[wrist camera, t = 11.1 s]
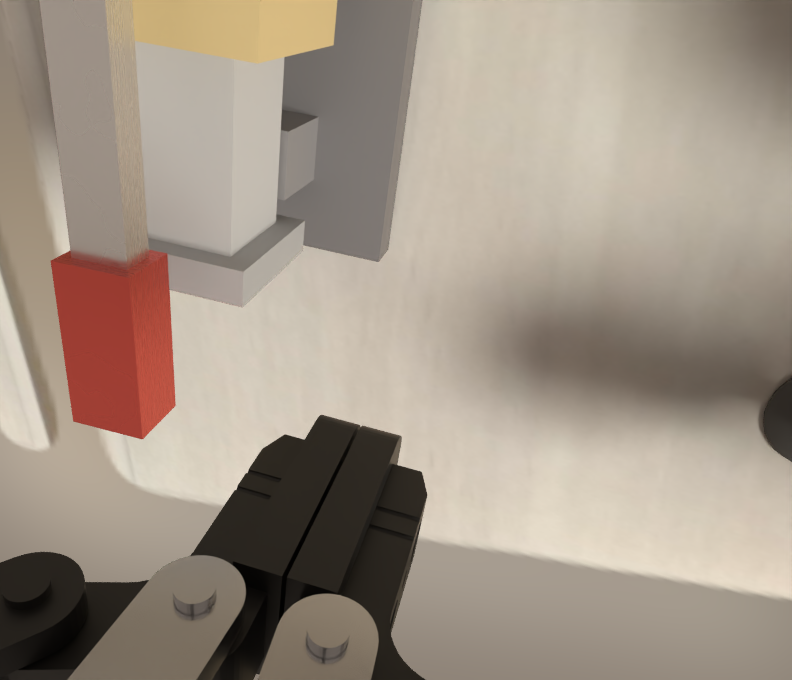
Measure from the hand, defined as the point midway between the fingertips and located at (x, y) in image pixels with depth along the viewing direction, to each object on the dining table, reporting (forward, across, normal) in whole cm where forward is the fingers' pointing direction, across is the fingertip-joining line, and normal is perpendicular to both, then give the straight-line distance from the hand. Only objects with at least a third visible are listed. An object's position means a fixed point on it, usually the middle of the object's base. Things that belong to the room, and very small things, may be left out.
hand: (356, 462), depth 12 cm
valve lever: (+6, +8, -2) cm, 11 cm away
